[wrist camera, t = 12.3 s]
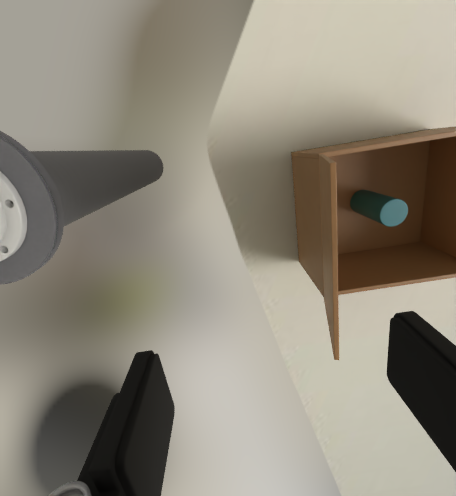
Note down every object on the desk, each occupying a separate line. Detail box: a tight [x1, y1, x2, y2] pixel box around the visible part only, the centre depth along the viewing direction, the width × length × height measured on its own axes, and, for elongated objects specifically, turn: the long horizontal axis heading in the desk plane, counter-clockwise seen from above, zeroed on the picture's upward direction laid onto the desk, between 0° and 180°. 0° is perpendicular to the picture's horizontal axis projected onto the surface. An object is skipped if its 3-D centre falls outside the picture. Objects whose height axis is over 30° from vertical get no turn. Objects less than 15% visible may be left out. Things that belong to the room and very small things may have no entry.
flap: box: [319, 154, 339, 360], centre depth 19 cm, size 7×13×1 cm
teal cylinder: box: [350, 190, 408, 227], centre depth 27 cm, size 3×3×6 cm
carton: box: [291, 127, 456, 297], centre depth 26 cm, size 15×13×8 cm
